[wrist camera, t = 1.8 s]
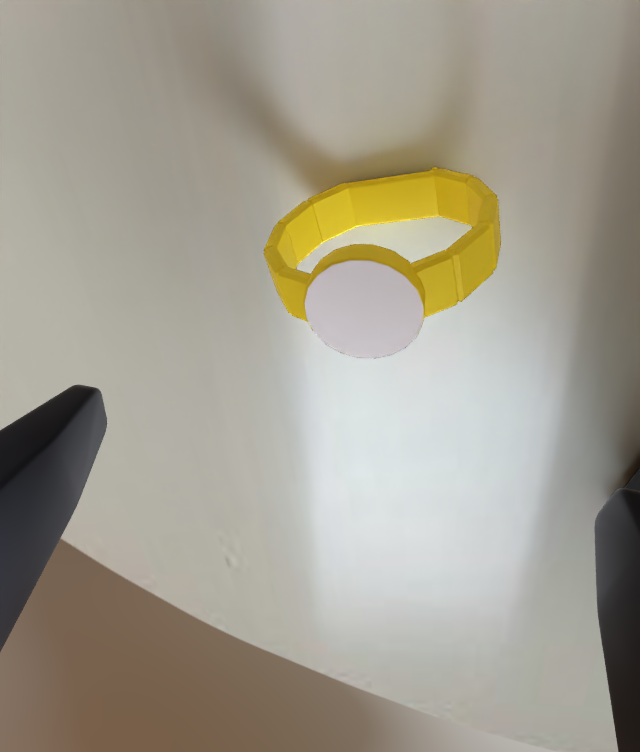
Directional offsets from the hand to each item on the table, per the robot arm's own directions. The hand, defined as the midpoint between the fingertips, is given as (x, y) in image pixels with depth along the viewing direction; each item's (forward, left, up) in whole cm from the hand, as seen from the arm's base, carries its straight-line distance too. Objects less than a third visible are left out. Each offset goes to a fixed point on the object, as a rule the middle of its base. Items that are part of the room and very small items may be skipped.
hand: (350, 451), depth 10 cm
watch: (0, 0, -10) cm, 10 cm away
